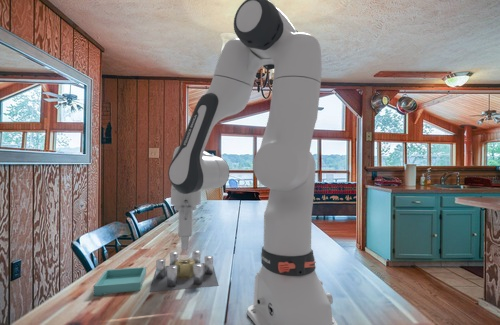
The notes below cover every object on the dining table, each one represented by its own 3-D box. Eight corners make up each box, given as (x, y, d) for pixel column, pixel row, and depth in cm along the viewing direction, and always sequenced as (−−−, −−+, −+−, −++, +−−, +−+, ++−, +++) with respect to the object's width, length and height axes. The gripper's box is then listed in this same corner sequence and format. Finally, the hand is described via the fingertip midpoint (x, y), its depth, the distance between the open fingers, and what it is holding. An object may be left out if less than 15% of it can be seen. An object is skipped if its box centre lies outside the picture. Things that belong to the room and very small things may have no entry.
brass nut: (194, 271, 84) (194, 258, 84) (195, 277, 79) (195, 263, 79) (175, 272, 82) (175, 259, 82) (174, 279, 77) (175, 265, 77)
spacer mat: (218, 287, 74) (218, 285, 74) (149, 293, 70) (149, 292, 70) (212, 263, 91) (212, 262, 91) (156, 267, 87) (156, 266, 87)
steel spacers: (215, 283, 75) (215, 265, 75) (153, 288, 71) (153, 270, 71) (210, 264, 90) (210, 249, 90) (158, 268, 86) (158, 252, 86)
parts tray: (140, 291, 70) (140, 282, 70) (93, 296, 68) (93, 286, 68) (146, 275, 81) (146, 266, 81) (106, 278, 79) (106, 269, 79)
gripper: (198, 203, 72) (196, 255, 71) (195, 194, 91) (194, 235, 91) (173, 203, 70) (172, 256, 70) (176, 194, 90) (175, 235, 90)
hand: (184, 244), depth 81 cm, fingers open, 8 cm apart
